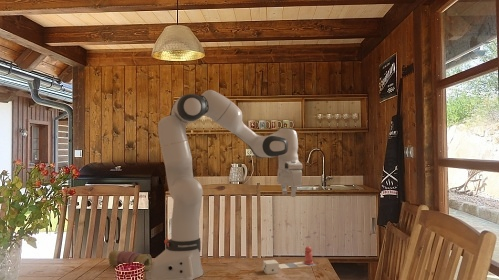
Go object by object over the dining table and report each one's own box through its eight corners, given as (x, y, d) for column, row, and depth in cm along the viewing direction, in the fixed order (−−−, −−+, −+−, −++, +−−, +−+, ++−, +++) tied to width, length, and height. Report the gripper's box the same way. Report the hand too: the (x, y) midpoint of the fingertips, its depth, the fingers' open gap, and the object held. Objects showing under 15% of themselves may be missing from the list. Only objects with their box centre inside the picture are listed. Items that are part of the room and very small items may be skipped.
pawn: (306, 265, 160) (306, 247, 160) (302, 262, 164) (302, 245, 164) (314, 264, 161) (314, 247, 161) (311, 261, 165) (310, 245, 165)
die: (262, 273, 153) (266, 277, 148) (262, 260, 154) (266, 264, 149) (275, 272, 155) (279, 276, 150) (275, 259, 155) (279, 263, 150)
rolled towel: (157, 264, 162) (124, 258, 172) (151, 250, 160) (118, 244, 169) (145, 276, 156) (111, 269, 166) (139, 262, 153) (105, 255, 163)
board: (280, 271, 156) (280, 268, 156) (275, 267, 161) (275, 264, 161) (316, 267, 160) (316, 265, 160) (310, 263, 166) (310, 261, 166)
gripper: (273, 164, 179) (274, 193, 179) (290, 165, 160) (291, 198, 159) (286, 163, 181) (286, 193, 180) (304, 164, 161) (304, 197, 161)
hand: (288, 195), depth 170 cm, fingers open, 8 cm apart
